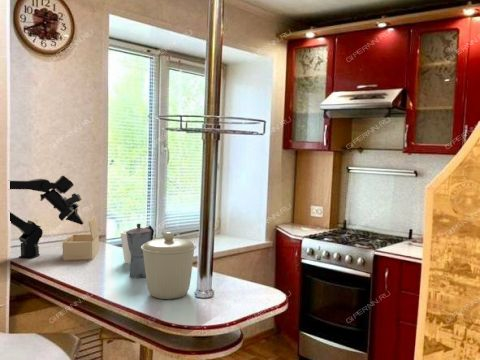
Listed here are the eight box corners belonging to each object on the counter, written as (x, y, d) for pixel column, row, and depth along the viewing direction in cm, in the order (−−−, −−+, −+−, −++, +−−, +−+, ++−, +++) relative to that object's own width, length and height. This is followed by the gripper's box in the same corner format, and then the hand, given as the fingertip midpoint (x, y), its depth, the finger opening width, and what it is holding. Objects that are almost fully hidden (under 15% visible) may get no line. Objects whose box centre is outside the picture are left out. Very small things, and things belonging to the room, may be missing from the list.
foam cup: (148, 261, 196) (148, 231, 195) (132, 265, 188) (132, 234, 187) (132, 258, 201) (132, 229, 200) (116, 262, 193) (116, 232, 192)
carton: (62, 260, 195) (61, 242, 194) (71, 251, 213) (71, 234, 213) (92, 260, 196) (92, 241, 196) (99, 250, 215) (99, 233, 215)
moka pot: (118, 278, 170) (118, 225, 169) (142, 268, 184) (142, 219, 183) (139, 281, 166) (139, 227, 165) (162, 270, 181) (162, 221, 179)
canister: (206, 291, 155) (206, 230, 154) (174, 307, 139) (174, 239, 138) (163, 283, 164) (163, 225, 162) (129, 297, 148) (129, 233, 146)
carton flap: (88, 221, 197) (89, 221, 197) (94, 216, 212) (95, 215, 212) (92, 240, 197) (93, 239, 197) (98, 233, 213) (98, 233, 213)
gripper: (65, 190, 199) (92, 214, 202) (73, 186, 217) (98, 208, 220) (47, 208, 198) (74, 232, 201) (56, 202, 217) (81, 225, 219)
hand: (82, 223), depth 210 cm, fingers closed
